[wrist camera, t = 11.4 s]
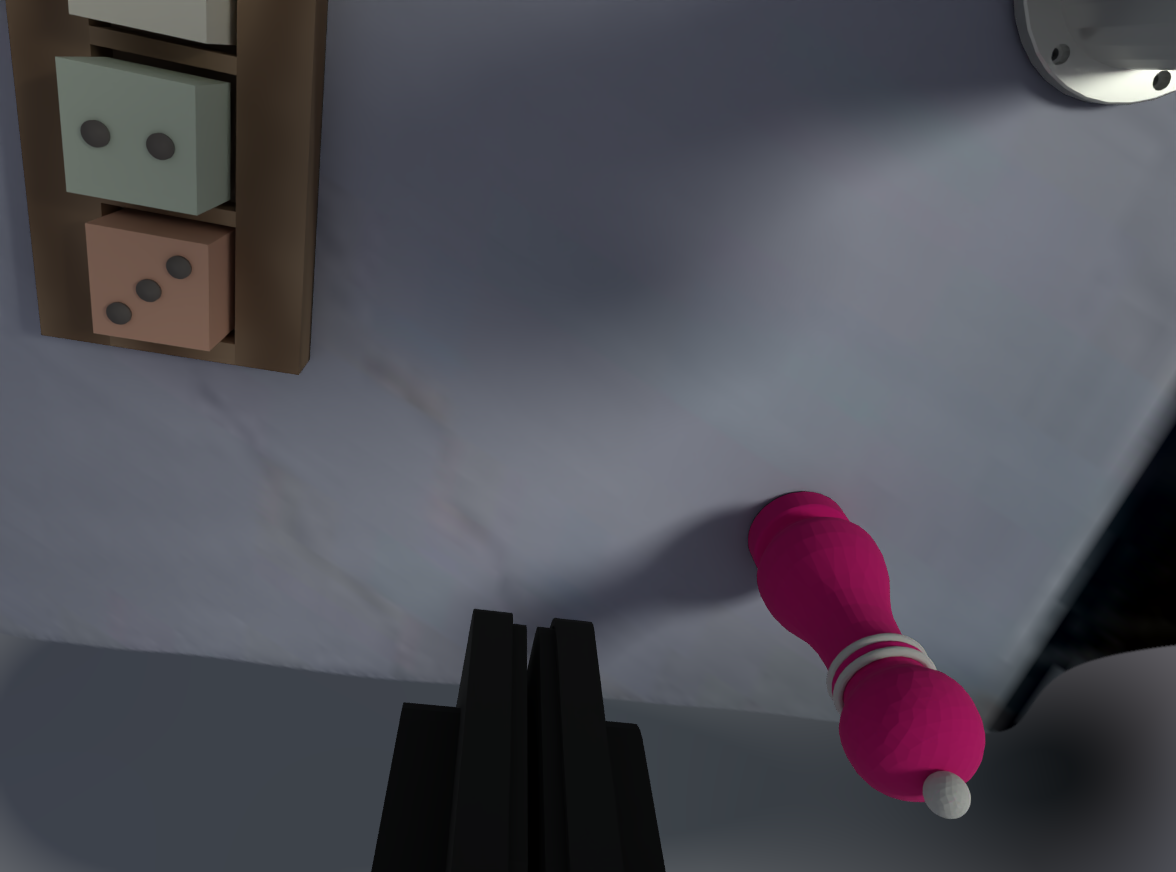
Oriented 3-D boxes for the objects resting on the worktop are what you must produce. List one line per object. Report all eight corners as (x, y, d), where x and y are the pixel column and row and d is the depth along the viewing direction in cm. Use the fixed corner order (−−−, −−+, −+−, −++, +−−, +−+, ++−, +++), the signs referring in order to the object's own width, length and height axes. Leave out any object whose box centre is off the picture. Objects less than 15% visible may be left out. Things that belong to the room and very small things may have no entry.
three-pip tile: (238, 227, 37) (206, 246, 33) (238, 324, 39) (207, 352, 35) (128, 206, 36) (82, 223, 32) (133, 307, 38) (91, 334, 34)
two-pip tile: (230, 82, 33) (192, 85, 29) (230, 199, 35) (195, 216, 31) (106, 56, 32) (52, 56, 28) (113, 177, 34) (64, 192, 31)
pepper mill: (816, 591, 50) (978, 885, 32) (719, 561, 49) (834, 854, 31) (873, 503, 47) (1085, 771, 30) (773, 468, 46) (933, 730, 28)
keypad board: (333, -107, 32) (320, -118, 30) (309, 359, 41) (298, 374, 39) (19, -187, 30) (-17, -204, 28) (65, 320, 39) (41, 334, 37)
